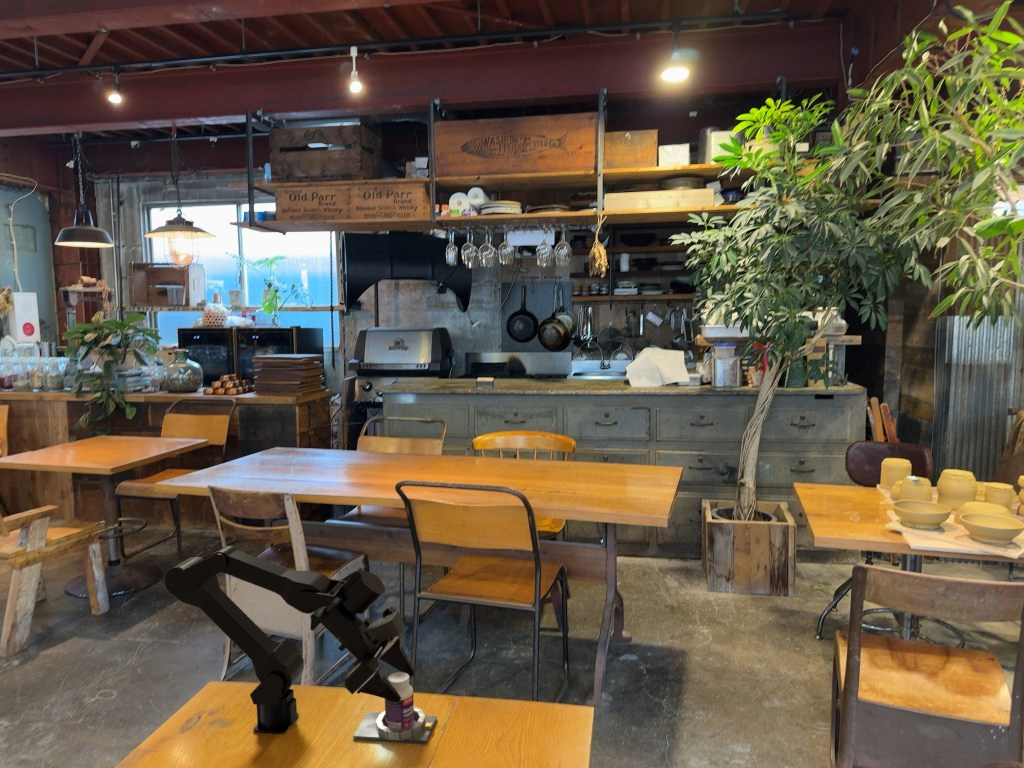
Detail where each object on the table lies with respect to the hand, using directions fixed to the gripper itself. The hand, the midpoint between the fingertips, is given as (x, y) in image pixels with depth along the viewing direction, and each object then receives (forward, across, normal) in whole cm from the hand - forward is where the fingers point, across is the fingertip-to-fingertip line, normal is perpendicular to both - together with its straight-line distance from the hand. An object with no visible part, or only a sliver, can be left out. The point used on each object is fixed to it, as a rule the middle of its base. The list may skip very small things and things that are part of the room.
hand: (406, 687), depth 129 cm
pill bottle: (+4, 0, +7) cm, 8 cm away
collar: (+5, 0, +6) cm, 8 cm away
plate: (+4, 0, +8) cm, 9 cm away
